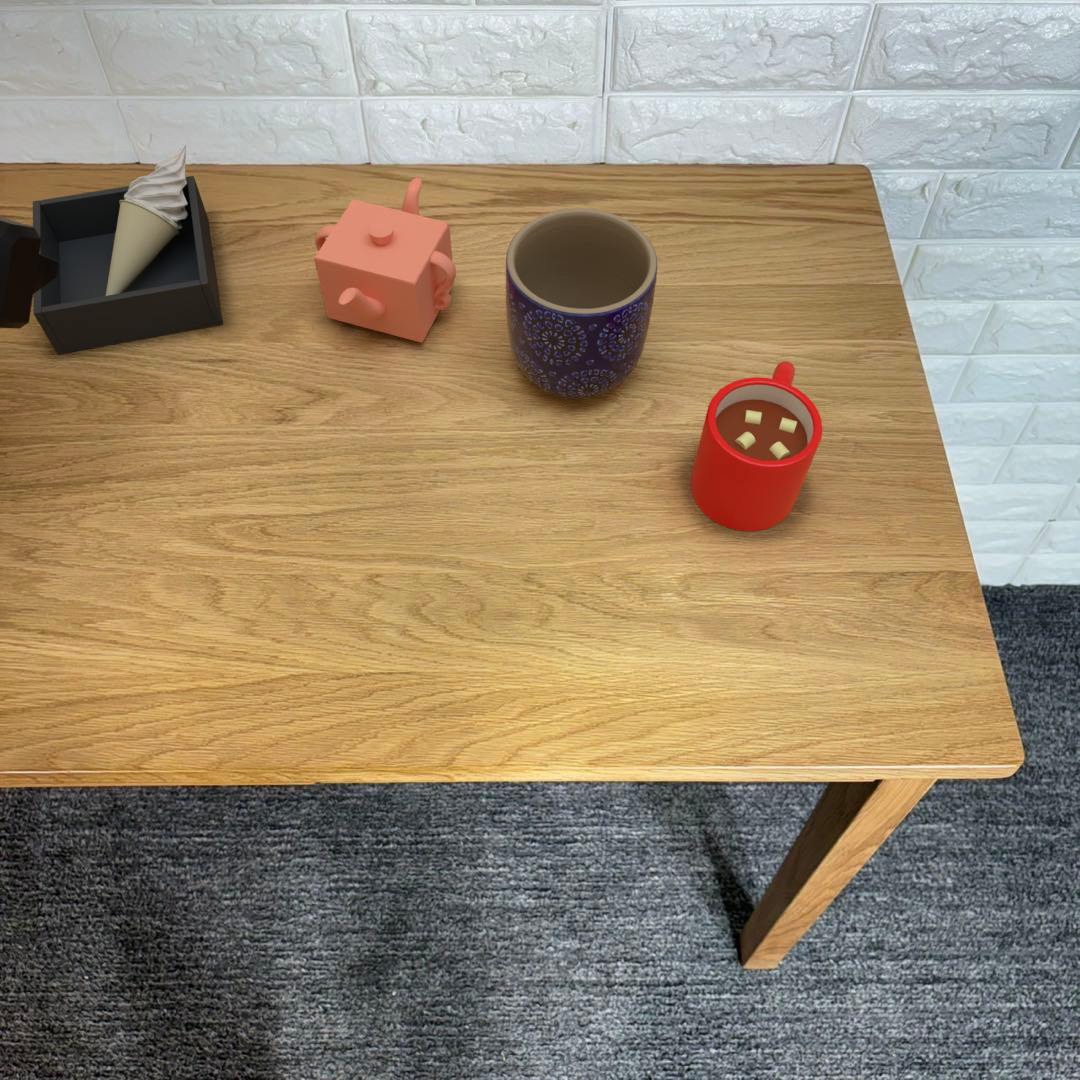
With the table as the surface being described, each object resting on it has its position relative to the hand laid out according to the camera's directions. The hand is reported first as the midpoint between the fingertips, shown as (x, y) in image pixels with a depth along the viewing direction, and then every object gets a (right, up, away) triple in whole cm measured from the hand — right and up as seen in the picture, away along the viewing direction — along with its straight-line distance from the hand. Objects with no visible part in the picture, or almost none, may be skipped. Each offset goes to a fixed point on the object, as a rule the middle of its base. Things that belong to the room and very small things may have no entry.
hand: (0, 251), depth 69 cm
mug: (+53, -14, +6) cm, 56 cm away
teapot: (+25, 0, +15) cm, 29 cm away
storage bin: (+3, +2, +15) cm, 16 cm away
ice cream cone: (+2, -1, +13) cm, 13 cm away
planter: (+40, -6, +11) cm, 42 cm away
